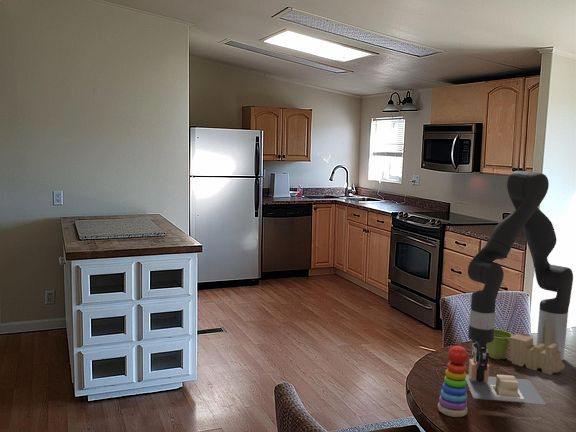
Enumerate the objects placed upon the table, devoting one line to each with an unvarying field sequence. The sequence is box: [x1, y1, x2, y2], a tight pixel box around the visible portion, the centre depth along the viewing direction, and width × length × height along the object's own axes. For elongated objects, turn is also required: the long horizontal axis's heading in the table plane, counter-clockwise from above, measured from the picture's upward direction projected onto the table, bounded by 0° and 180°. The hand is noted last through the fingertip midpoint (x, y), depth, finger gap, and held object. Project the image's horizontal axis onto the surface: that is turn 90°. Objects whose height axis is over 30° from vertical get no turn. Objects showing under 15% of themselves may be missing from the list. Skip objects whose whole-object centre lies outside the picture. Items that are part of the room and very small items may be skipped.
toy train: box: [508, 333, 566, 376], centre depth 186 cm, size 6×17×10 cm, turn 44°
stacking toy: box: [437, 345, 468, 418], centre depth 153 cm, size 8×8×19 cm
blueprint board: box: [465, 373, 547, 406], centre depth 168 cm, size 18×20×2 cm
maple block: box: [495, 374, 518, 397], centre depth 163 cm, size 5×5×5 cm
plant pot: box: [486, 328, 514, 360], centre depth 198 cm, size 9×9×9 cm
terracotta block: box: [468, 358, 490, 382], centre depth 173 cm, size 5×5×5 cm
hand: (478, 377), depth 173 cm, fingers closed on terracotta block, 5 cm apart
